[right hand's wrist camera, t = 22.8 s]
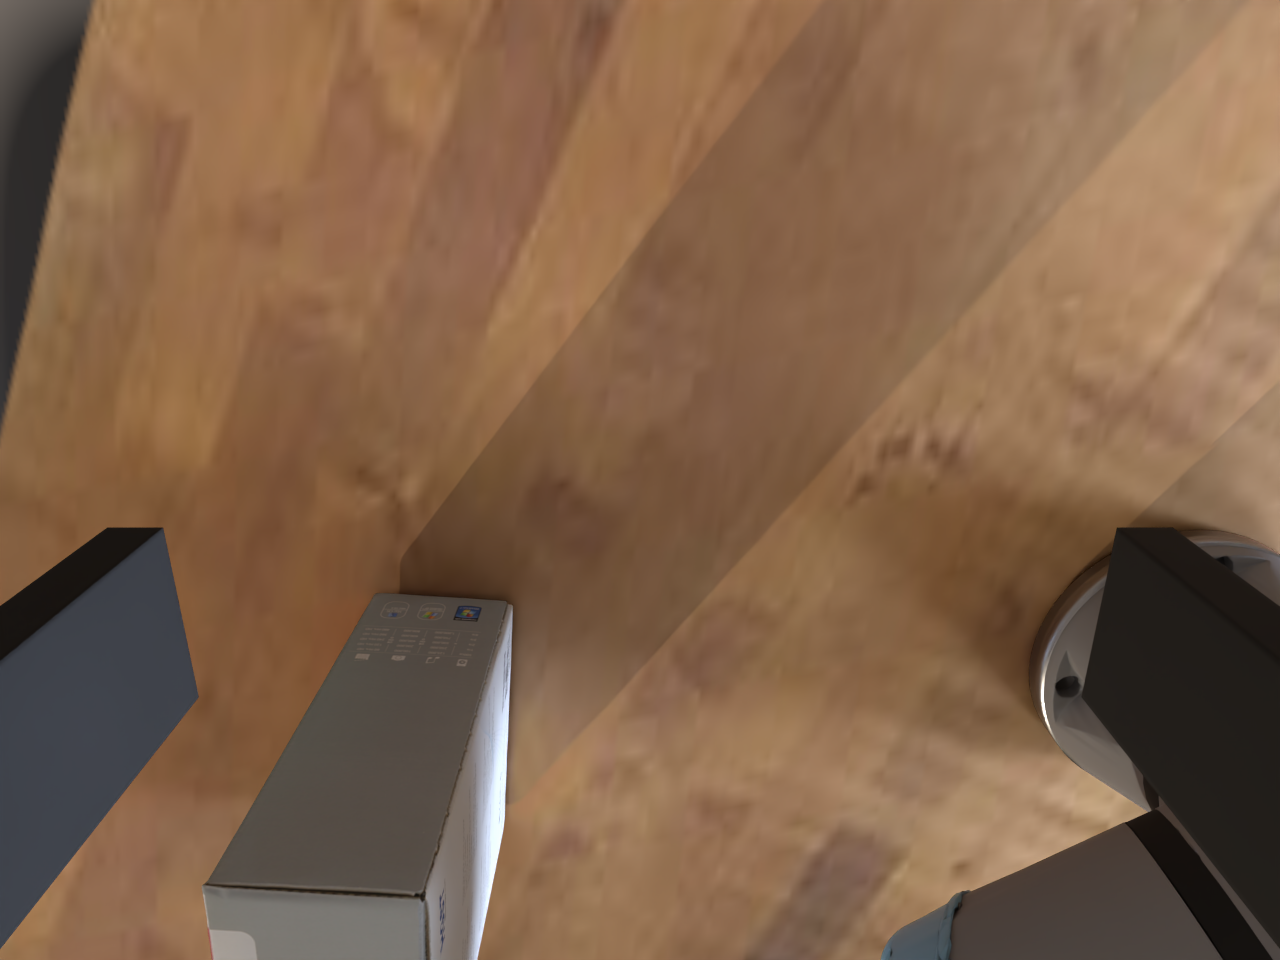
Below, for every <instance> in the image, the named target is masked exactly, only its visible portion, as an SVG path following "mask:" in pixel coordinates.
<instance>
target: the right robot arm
mask: <svg viewBox="0 0 1280 960" xmlns="http://www.w3.org/2000/svg"><path fill="white" fill-rule="evenodd" d="M1029 685H1030V691H1031V696H1032V700H1033V703H1034V706H1035V709H1036V711H1037V713H1038V715H1039V717H1040V719H1041V721H1042V722H1043V724H1044V726H1045V727H1046V728H1047V730H1048V731H1049V733H1050V734H1051V736H1052V737H1053V739H1054V740H1055V742H1056V743H1057V744H1058V746H1059V747H1060V748H1061V750H1062V751H1063V752H1064V753H1065V754H1066V755H1067V756H1068V757H1069V758H1070V759H1071V760H1072V761H1073V762H1074V763H1075V764H1076V765H1078V766H1079V767H1080V768H1082V769H1083V770H1085V771H1086V772H1088V773H1089V774H1091V775H1092V776H1094V777H1096V778H1097V779H1099V780H1100V781H1102V782H1103V783H1105V784H1106V785H1108V786H1109V787H1111V788H1112V789H1114V790H1115V791H1117V792H1119V793H1120V794H1122V795H1123V796H1125V797H1126V798H1128V799H1129V800H1131V801H1132V802H1134V803H1135V804H1137V805H1139V806H1140V807H1142V808H1143V809H1145V810H1146V811H1148V813H1146V814H1143V815H1141V816H1139V817H1137V818H1135V819H1133V820H1130V821H1128V822H1125V823H1122V824H1120V825H1118V826H1115V827H1113V828H1111V829H1109V830H1107V831H1104V832H1102V833H1100V834H1098V835H1096V836H1094V837H1091V838H1089V839H1087V840H1085V841H1083V842H1081V843H1078V844H1076V845H1074V846H1072V847H1070V848H1068V849H1065V850H1063V851H1061V852H1059V853H1057V854H1055V855H1052V856H1050V857H1048V858H1046V859H1044V860H1042V861H1039V862H1037V863H1035V864H1033V865H1031V866H1029V867H1026V868H1024V869H1022V870H1020V871H1017V872H1015V873H1013V874H1010V875H1008V876H1006V877H1003V878H1001V879H999V880H997V881H994V882H992V883H990V884H987V885H985V886H983V887H980V888H978V889H976V890H973V891H969V890H967V891H962V892H960V893H956V894H955V895H954V896H953V897H952V898H951V900H950V901H949V902H948V903H947V904H945V905H944V906H942V907H940V908H938V909H936V910H935V911H933V912H931V913H929V914H927V915H926V916H924V917H922V918H920V919H918V920H916V921H914V922H912V923H910V924H908V925H906V926H904V927H903V928H901V929H900V930H898V931H897V932H896V933H895V934H894V935H893V936H892V937H891V938H890V940H889V941H888V942H887V944H886V946H885V948H884V950H883V953H882V956H881V960H1280V554H1278V553H1277V552H1275V551H1274V550H1272V549H1270V548H1269V547H1267V546H1265V545H1263V544H1262V543H1259V542H1257V541H1255V540H1252V539H1250V538H1247V537H1244V536H1241V535H1237V534H1233V533H1228V532H1223V531H1213V530H1189V531H1177V530H1175V529H1174V528H1117V530H1116V535H1115V539H1114V544H1113V549H1112V554H1111V555H1109V556H1107V557H1106V558H1104V559H1102V560H1101V561H1099V562H1098V563H1096V564H1095V565H1093V566H1092V567H1091V568H1089V569H1088V570H1087V571H1085V572H1084V573H1083V574H1082V575H1081V576H1080V577H1078V578H1077V579H1076V580H1075V581H1074V582H1073V583H1072V584H1071V585H1070V586H1069V587H1068V588H1067V589H1066V590H1065V591H1064V592H1063V593H1062V595H1061V596H1060V597H1059V598H1058V600H1057V601H1056V602H1055V603H1054V605H1053V606H1052V608H1051V609H1050V611H1049V612H1048V614H1047V616H1046V617H1045V619H1044V621H1043V623H1042V625H1041V627H1040V629H1039V632H1038V634H1037V636H1036V639H1035V642H1034V645H1033V649H1032V653H1031V658H1030V667H1029ZM198 697H199V696H198V691H197V687H196V682H195V677H194V672H193V668H192V663H191V658H190V653H189V649H188V644H187V639H186V634H185V630H184V625H183V620H182V615H181V611H180V606H179V601H178V596H177V592H176V587H175V582H174V577H173V573H172V568H171V563H170V558H169V554H168V549H167V544H166V539H165V535H164V530H163V528H106V529H105V530H103V531H102V532H101V533H99V534H98V535H97V536H95V537H94V538H93V539H91V540H90V541H88V542H87V543H86V544H84V545H83V546H82V547H80V548H79V549H78V550H76V551H75V552H73V553H72V554H71V555H69V556H68V557H67V558H65V559H64V560H63V561H61V562H60V563H58V564H57V565H56V566H54V567H53V568H52V569H50V570H49V571H48V572H46V573H45V574H43V575H42V576H41V577H39V578H38V579H37V580H35V581H34V582H33V583H31V584H30V585H28V586H27V587H26V588H24V589H23V590H22V591H20V592H19V593H18V594H16V595H15V596H13V597H12V598H11V599H9V600H8V601H7V602H5V603H4V604H3V605H1V606H0V949H1V947H2V946H3V945H4V944H5V942H6V941H7V940H8V938H9V937H10V936H11V935H12V933H13V932H14V931H15V930H16V928H17V927H18V926H19V924H20V923H21V922H22V921H23V919H24V918H25V917H26V916H27V914H28V913H29V912H30V911H31V909H32V908H33V907H34V905H35V904H36V903H37V902H38V900H39V899H40V898H41V897H42V895H43V894H44V893H45V891H46V890H47V889H48V888H49V886H50V885H51V884H52V883H53V881H54V880H55V879H56V878H57V876H58V875H59V874H60V872H61V871H62V870H63V869H64V867H65V866H66V865H67V864H68V862H69V861H70V860H71V859H72V857H73V856H74V855H75V853H76V852H77V851H78V850H79V848H80V847H81V846H82V845H83V843H84V842H85V841H86V839H87V838H88V837H89V836H90V834H91V833H92V832H93V831H94V829H95V828H96V827H97V826H98V824H99V823H100V822H101V820H102V819H103V818H104V817H105V815H106V814H107V813H108V812H109V810H110V809H111V808H112V806H113V805H114V804H115V803H116V801H117V800H118V799H119V798H120V796H121V795H122V794H123V793H124V791H125V790H126V789H127V787H128V786H129V785H130V784H131V782H132V781H133V780H134V779H135V777H136V776H137V775H138V773H139V772H140V771H141V770H142V768H143V767H144V766H145V765H146V763H147V762H148V761H149V760H150V758H151V757H152V756H153V754H154V753H155V752H156V751H157V749H158V748H159V747H160V746H161V744H162V743H163V742H164V741H165V739H166V738H167V737H168V735H169V734H170V733H171V732H172V730H173V729H174V728H175V727H176V725H177V724H178V723H179V721H180V720H181V719H182V718H183V716H184V715H185V714H186V713H187V711H188V710H189V709H190V708H191V706H192V705H193V704H194V702H195V701H196V700H197V699H198Z"/></svg>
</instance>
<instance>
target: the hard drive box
mask: <svg viewBox="0 0 1280 960" xmlns="http://www.w3.org/2000/svg"><path fill="white" fill-rule="evenodd" d="M512 617H513V606H512V605H509V604H507V602H506V601H499V600H487V599H470V598H454V597H437V596H420V595H407V594H390V593H376V594H375V595H374V596H373V598H372V600H371V602H370V603H369V605H368V606H367V608H366V610H365V611H364V613H363V615H362V617H361V618H360V620H359V622H358V624H357V625H356V627H355V628H354V630H353V632H352V634H351V636H350V637H349V639H348V641H347V642H346V644H345V646H344V647H343V649H342V651H341V653H340V654H339V656H338V658H337V660H336V661H335V663H334V665H333V667H332V668H331V670H330V672H329V674H328V675H327V677H326V679H325V680H324V682H323V684H322V686H321V687H320V689H319V691H318V693H317V694H316V696H315V698H314V699H313V701H312V703H311V705H310V706H309V708H308V710H307V711H306V713H305V715H304V717H303V718H302V720H301V722H300V724H299V725H298V727H297V729H296V731H295V732H294V734H293V736H292V737H291V739H290V741H289V743H288V744H287V746H286V748H285V750H284V751H283V753H282V755H281V756H280V758H279V760H278V762H277V763H276V765H275V767H274V769H273V770H272V772H271V774H270V776H269V777H268V779H267V781H266V782H265V784H264V786H263V788H262V789H261V791H260V793H259V795H258V796H257V798H256V800H255V801H254V803H253V805H252V807H251V808H250V810H249V812H248V814H247V815H246V817H245V819H244V820H243V822H242V824H241V825H240V827H239V829H238V831H237V832H236V834H235V836H234V837H233V839H232V841H231V842H230V844H229V846H228V847H227V849H226V851H225V852H224V854H223V856H222V858H221V859H220V861H219V863H218V864H217V866H216V868H215V870H214V871H213V873H212V875H211V876H210V878H209V880H208V881H207V882H206V883H205V884H204V885H202V891H203V897H204V903H205V909H206V915H207V924H208V935H209V941H210V948H211V956H212V960H477V957H478V952H479V948H480V943H481V938H482V933H483V928H484V923H485V918H486V913H487V908H488V903H489V898H490V893H491V888H492V883H493V878H494V874H495V869H496V864H497V859H498V854H499V849H500V844H501V839H502V833H503V828H504V821H505V791H506V767H507V742H508V719H509V694H510V673H511V646H512Z"/></svg>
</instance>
